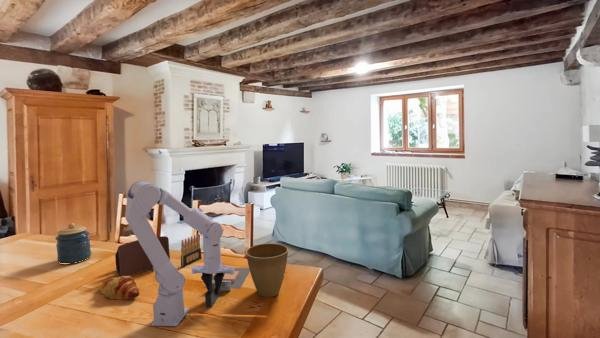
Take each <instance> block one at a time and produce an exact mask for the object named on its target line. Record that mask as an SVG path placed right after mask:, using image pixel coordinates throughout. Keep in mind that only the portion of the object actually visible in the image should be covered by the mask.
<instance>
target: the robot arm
mask: <svg viewBox="0 0 600 338" xmlns="http://www.w3.org/2000/svg"><path fill="white" fill-rule="evenodd" d="M125 194H126V203H125V204H126V206H125V215H124V217H125V220H126V222H127V224H128V226H129V228H130V229H131V231H132V232H133V234H134V237H135V238H136V239H137V240H138V241H139V243H140V245H141V246H142V248H143V250H144V251H145V253H146V255H147V257H148V258H149V260H150V262H151V263H152V265H153V269H152V270H153V272H154V279H155V281H156V282H157V283H158V284H159V286H158V289H157V298H156V300H155V301H154V302H153V305H152V306H153V307H152V310H153V311H152V312H153V322H152V323H151V326H153V327H155V326H156V327H158V326H159V327H161V326H162V327H177V326H178V325H179V324H180V322H182V320H183V319H184V317H185V316H186V315H187V314H188V312H189V310H190V307H185V299H184V287H185V284H186V278H185V275H184V274H183V273H181V272H180V271H178V270H177V268H176V266H175V265H174V264H173V262H172V261H171V259H170V260H169V258H168V256H167V254H166V252H165V251H164V249H163V247H162V245H161V243H160V242H159V240H158V238H157V237H158V236H157V234H156V233H155V231H154V229H153V227H152V226H151V223H150V222H149V220H148V218H147V217H148V215H149V213H150V212H151V210H152V209H153V208H154V207H155V206H156V205H160V206H161V205H165V206H166V207H168V208H170V209H171V210H173V211H174V212H176V213H178V214H179V215H181V216H182V217H183V222H184V224H186V225H188V226H189V227H191V228H192V229H194V230H196V231H197V232H199V235H202V246H203V247H202V248H203V264H204V265H195V266H193V267H191V274H192V275H195V274H201V276H200V279H201V280H202V282H203V283H204V286H205V285H206V287H207V288H206V289H207V291H208V290H209V288H210V287H211V286H212V278H213V275H214V274H215V273H216V275H215V276H214V281H215V286H216V295H218V294H219V293H221V292H220V287H221V283H222V280H223V277H224V275H225V274H231V275H233V274H234V272H235V268H236V267H235V266H229V265H223V264H222V248H221V246H222V245H221V238H222V235H223V234H224V229H223V228H222V225H221V224H220V222H219V223H218V222H216V221H214V218H213V217H212V216H208V215H207V214H206V213H205V212H203V211H204V210H203V209H202V208H200V207H191V208H190V207H189V206H187V205H186V204H185V203H183V202H182V201H181V200H180V199H178V198H177V197H176V196H174V195H173V194H172V193H170V192H169V191H167V190H165V189H164V188H161V187H159V186H158V185H156V184H155V183H154V184H153V183H149V182H148V181H146V180H136V181H135V182H133V183H132V184H131V185H130V187H129V189H128V190H127V192H126V193H125Z"/></svg>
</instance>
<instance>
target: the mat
mask: <svg viewBox="0 0 600 338" xmlns="http://www.w3.org/2000/svg"><path fill="white" fill-rule="evenodd" d="M235 271H239V276H238V277H237V279H236V280H235V282H234V283H231V289H238V290H239V289H241V288H242V286H243V284H244V282H245V281H246V279H247V277H248V276H249V273H250V269H249V267H235ZM215 275H216V273H213V278H212V280H214V276H215ZM204 288H205V289H207V287H206V285H205V284H204V286H203V289H204Z"/></svg>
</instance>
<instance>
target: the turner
mask: <svg viewBox="0 0 600 338" xmlns="http://www.w3.org/2000/svg"><path fill="white" fill-rule="evenodd" d="M221 292H232V288H231V281H222V283H221V287H220V293H221ZM220 293H219V294H218V295H216V286H215V281H214V280H212V286H211V287H210V288H209V290H207V291H206V292H205V293H204V297H205V308H212V307H213V306H214V305H215V303H216V302H217V300H218V298H219V297H220V295H221V294H220Z"/></svg>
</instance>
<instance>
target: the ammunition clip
mask: <svg viewBox="0 0 600 338" xmlns="http://www.w3.org/2000/svg"><path fill="white" fill-rule="evenodd" d="M180 248H181V249H180V253H181V254H180V267H182V268H186V267H188V266H189V265H191V264H194V263H196V262H197V261H198V262H199V261H200V260H201V259H202V248H201V243H200V236H199V233H197V234H196V235H195V234H194V235H193V236H190V237H187V238H185V239H184V240H183V239H182V240H181V247H180ZM187 265H188V266H187ZM185 266H186V267H185Z"/></svg>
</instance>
